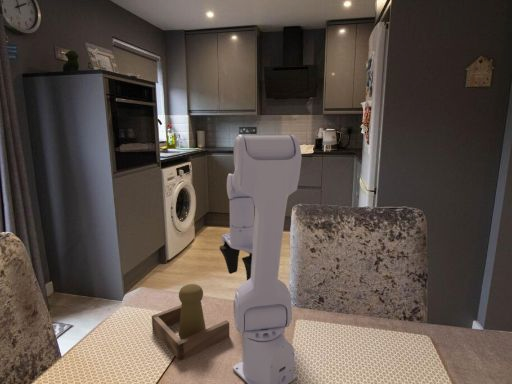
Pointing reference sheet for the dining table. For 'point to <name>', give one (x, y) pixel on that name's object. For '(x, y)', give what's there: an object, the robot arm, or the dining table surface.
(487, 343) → the dining table surface
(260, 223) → the robot arm
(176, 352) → the open u-shaped frame
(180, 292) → the olive pawn shape
